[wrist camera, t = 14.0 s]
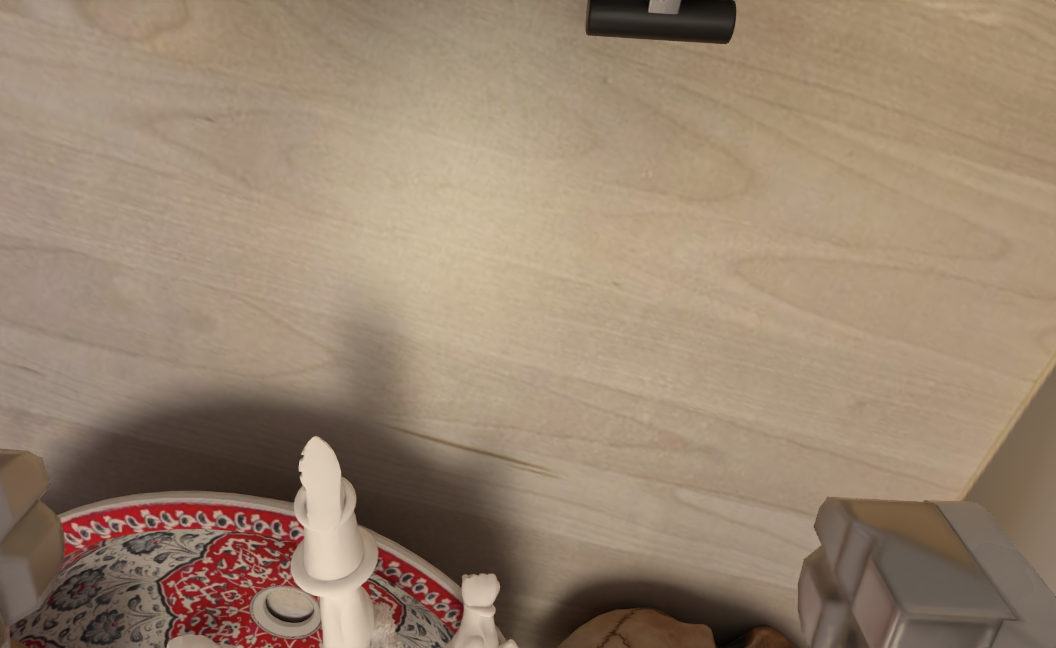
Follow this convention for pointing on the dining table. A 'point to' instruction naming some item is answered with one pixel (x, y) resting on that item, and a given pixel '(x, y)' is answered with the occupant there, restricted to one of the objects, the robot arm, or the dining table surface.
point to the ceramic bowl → (212, 578)
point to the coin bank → (660, 633)
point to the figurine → (356, 569)
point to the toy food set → (16, 644)
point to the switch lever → (663, 19)
